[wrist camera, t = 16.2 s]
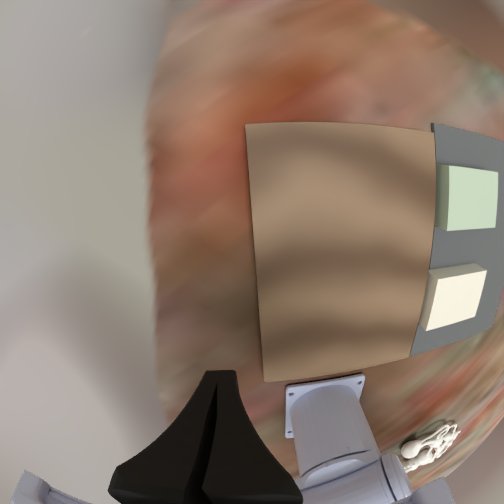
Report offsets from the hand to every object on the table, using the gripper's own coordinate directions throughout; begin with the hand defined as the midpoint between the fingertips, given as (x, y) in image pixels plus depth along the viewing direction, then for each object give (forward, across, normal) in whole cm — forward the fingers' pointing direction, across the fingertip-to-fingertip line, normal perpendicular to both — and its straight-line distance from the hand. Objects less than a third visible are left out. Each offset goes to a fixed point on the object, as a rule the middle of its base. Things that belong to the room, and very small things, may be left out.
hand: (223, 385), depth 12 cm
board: (+9, -9, -2) cm, 13 cm away
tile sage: (+9, -20, -7) cm, 23 cm away
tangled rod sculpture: (+10, -30, +35) cm, 47 cm away
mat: (+9, -24, -2) cm, 26 cm away
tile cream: (+9, -20, +2) cm, 22 cm away
